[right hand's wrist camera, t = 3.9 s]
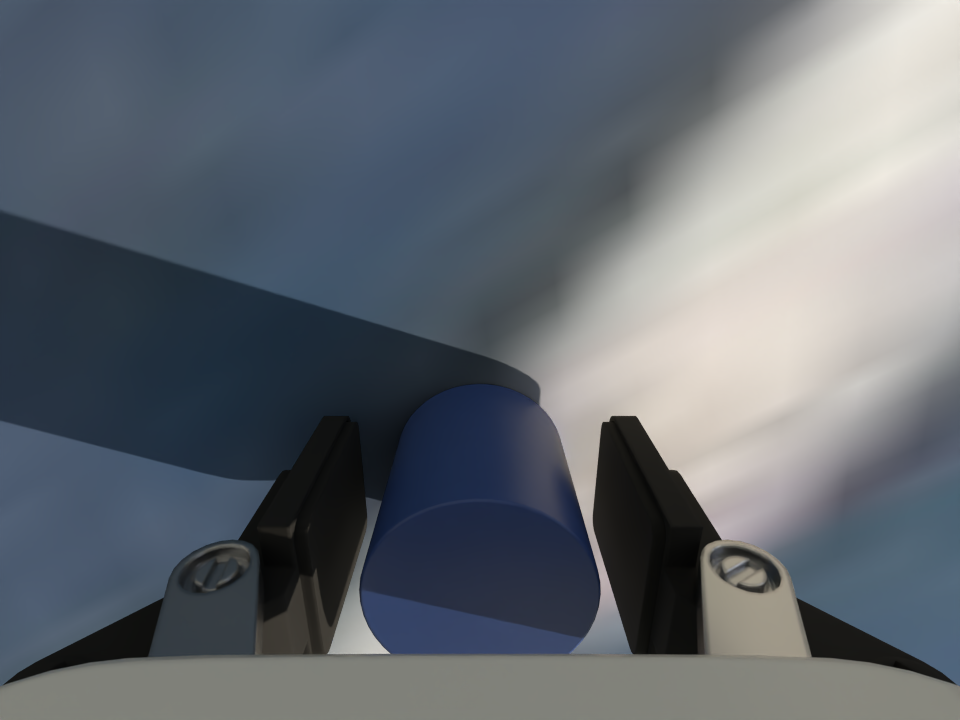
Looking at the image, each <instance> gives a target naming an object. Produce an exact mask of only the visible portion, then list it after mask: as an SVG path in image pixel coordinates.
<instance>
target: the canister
mask: <svg viewBox="0 0 960 720" xmlns="http://www.w3.org/2000/svg"><path fill="white" fill-rule="evenodd" d="M359 592H360V603H361V607H362V611H363V615H364V617H365V620H366V622H367V624H368V627H369V628H370V630H371V631H372V633H373V635H374V636H375V638H376V639H377V640H378V641H379V642H380V644H381V645H382V646H383V647H384V648H385V649H386V650H387V651H388V652H389V653H390V654H569V653H571V652H572V651H573V650H574V649H575V648H576V647H577V646H578V645H579V644H580V643H581V641H582V640H583V639H584V637H585V636H586V634H587V633H588V632H589V630H590V628H591V626H592V624H593V622H594V620H595V617H596V614H597V611H598V608H599V602H600V595H601V593H600V579H599V574H598V569H597V566H596V562H595V559H594V555H593V552H592V548H591V545H590V541H589V538H588V534H587V531H586V527H585V524H584V520H583V517H582V513H581V510H580V506H579V503H578V499H577V496H576V492H575V489H574V485H573V482H572V478H571V475H570V471H569V468H568V464H567V461H566V457H565V454H564V450H563V447H562V443H561V440H560V437H559V434H558V431H557V429H556V427H555V425H554V423H553V421H552V420H551V418H550V417H549V416H548V415H547V413H546V412H545V411H544V410H543V409H542V408H541V407H540V406H539V405H538V404H536V403H535V402H534V401H533V400H531V399H530V398H528V397H526V396H525V395H523V394H521V393H519V392H516V391H514V390H512V389H509V388H505V387H501V386H496V385H489V384H472V385H464V386H459V387H454V388H452V389H449V390H446V391H443V392H441V393H439V394H437V395H435V396H433V397H432V398H430V399H429V400H427V401H426V402H425V403H423V404H422V405H421V406H420V407H419V408H418V409H417V410H416V411H415V412H414V413H413V415H412V416H411V417H410V418H409V420H408V422H407V423H406V425H405V427H404V429H403V431H402V434H401V437H400V440H399V444H398V447H397V451H396V454H395V458H394V461H393V465H392V468H391V472H390V475H389V479H388V482H387V486H386V489H385V493H384V496H383V500H382V503H381V507H380V510H379V514H378V517H377V521H376V524H375V528H374V531H373V535H372V538H371V542H370V545H369V549H368V552H367V556H366V559H365V563H364V566H363V570H362V574H361V577H360V588H359Z"/></svg>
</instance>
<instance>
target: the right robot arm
mask: <svg viewBox="0 0 960 720" xmlns="http://www.w3.org/2000/svg"><path fill="white" fill-rule="evenodd" d="M366 527H367V509H366V498H365V488H364V478H363V467H362V457H361V446H360V436H359V427H358V423H357V422H351V421H350V418H349V416H324V417H323V418H322V420H321V421H320V423H319V425H318V426H317V428H316V430H315V431H314V433H313V435H312V436H311V438H310V440H309V441H308V443H307V444H306V446H305V448H304V449H303V451H302V453H301V454H300V456H299V458H298V459H297V461H296V463H295V464H294V466H293V468H292V469H291V470H285V471H282V473H281V474H280V475H279V476H278V478H277V479H276V481H275V483H274V484H273V486H272V487H271V489H270V491H269V492H268V494H267V495H266V497H265V498H264V500H263V502H262V503H261V505H260V506H259V508H258V509H257V511H256V513H255V514H254V516H253V517H252V519H251V521H250V522H249V524H248V525H247V527H246V528H245V530H244V532H243V533H242V535H241V536H240V538H239V540H226V541H219V542H215V543H212V544H209V545H206V546H204V547H202V548H200V549H198V550H195V551H193V552H192V553H191V554H189V555H188V556H186V557H185V558H184V559H182V560H181V561H180V562H179V564H178V565H177V566H176V567H175V568H174V569H173V571H172V573H171V575H170V577H169V580H168V584H167V588H166V591H165V595H164V598H162V599H160V600H158V601H156V602H154V603H152V604H150V605H148V606H146V607H144V608H142V609H140V610H138V611H136V612H134V613H132V614H130V615H128V616H127V617H125V618H123V619H121V620H119V621H117V622H115V623H113V624H111V625H109V626H107V627H105V628H103V629H101V630H99V631H97V632H95V633H93V634H91V635H89V636H87V637H85V638H83V639H81V640H79V641H77V642H75V643H73V644H71V645H69V646H67V647H65V648H63V649H61V650H59V651H57V652H55V653H53V654H51V655H49V656H47V657H45V658H43V659H41V660H39V661H37V662H35V663H34V664H32V665H30V666H29V667H27V668H25V669H24V670H22V671H20V672H19V673H17V674H16V675H15V676H14V677H12V678H11V679H10V680H9V681H7V682H6V683H5V684H4V685H2V686H0V720H960V686H958V685H956V684H955V683H954V682H953V681H951V680H950V679H949V678H948V677H946V676H945V675H944V674H943V673H941V672H940V671H938V670H936V669H935V668H933V667H931V666H930V665H928V664H926V663H925V662H923V661H921V660H919V659H917V658H915V657H913V656H911V655H909V654H907V653H905V652H903V651H901V650H899V649H897V648H895V647H893V646H891V645H889V644H887V643H885V642H883V641H881V640H879V639H877V638H875V637H873V636H871V635H869V634H867V633H865V632H863V631H861V630H859V629H857V628H855V627H853V626H851V625H849V624H847V623H845V622H843V621H841V620H839V619H837V618H835V617H833V616H832V615H830V614H828V613H826V612H824V611H822V610H820V609H818V608H816V607H814V606H812V605H810V604H808V603H806V602H804V601H802V600H800V599H798V598H796V595H795V591H794V588H793V584H792V580H791V577H790V575H789V573H788V571H787V569H786V568H785V567H784V566H783V565H782V564H781V562H780V561H779V560H778V559H776V558H775V557H774V556H772V555H771V554H769V553H768V552H767V551H765V550H762V549H760V548H758V547H756V546H754V545H751V544H748V543H745V542H741V541H734V540H722V539H721V538H720V536H719V535H718V533H717V532H716V530H715V528H714V527H713V525H712V524H711V522H710V521H709V519H708V517H707V516H706V514H705V513H704V511H703V509H702V508H701V506H700V505H699V503H698V502H697V500H696V498H695V497H694V495H693V494H692V492H691V491H690V489H689V487H688V486H687V484H686V483H685V481H684V479H683V478H682V476H681V475H680V474H679V472H678V471H675V470H669V469H668V468H667V466H666V464H665V463H664V461H663V459H662V458H661V456H660V454H659V453H658V451H657V449H656V448H655V446H654V444H653V443H652V441H651V440H650V438H649V436H648V435H647V433H646V431H645V430H644V428H643V426H642V425H641V423H640V421H639V420H638V418H637V417H636V416H612V417H611V418H610V421H609V422H603V423H602V427H601V436H600V447H599V457H598V467H597V478H596V488H595V499H594V509H593V527H594V532H595V535H596V539H597V542H598V545H599V548H600V552H601V555H602V558H603V562H604V565H605V568H606V571H607V575H608V578H609V581H610V584H611V588H612V591H613V594H614V597H615V601H616V604H617V607H618V611H619V614H620V617H621V620H622V624H623V627H624V630H625V633H626V637H627V640H628V643H629V646H630V649H631V652H632V653H633V654H327V653H328V652H329V649H330V647H331V643H332V640H333V637H334V633H335V630H336V627H337V624H338V620H339V617H340V614H341V611H342V607H343V604H344V601H345V597H346V594H347V591H348V588H349V584H350V581H351V578H352V575H353V571H354V568H355V565H356V562H357V558H358V555H359V552H360V548H361V545H362V542H363V539H364V535H365V532H366Z"/></svg>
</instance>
